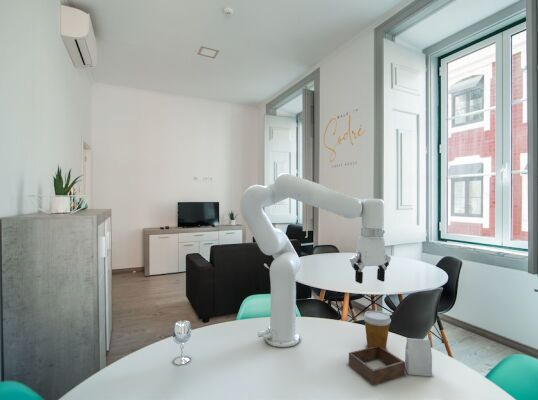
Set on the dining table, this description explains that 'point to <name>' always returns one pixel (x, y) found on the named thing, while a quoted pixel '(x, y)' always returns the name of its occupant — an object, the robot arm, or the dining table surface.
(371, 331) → the disposable coffee cup
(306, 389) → the dining table surface
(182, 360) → the wineglass
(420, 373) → the white food carton
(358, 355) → the crate
